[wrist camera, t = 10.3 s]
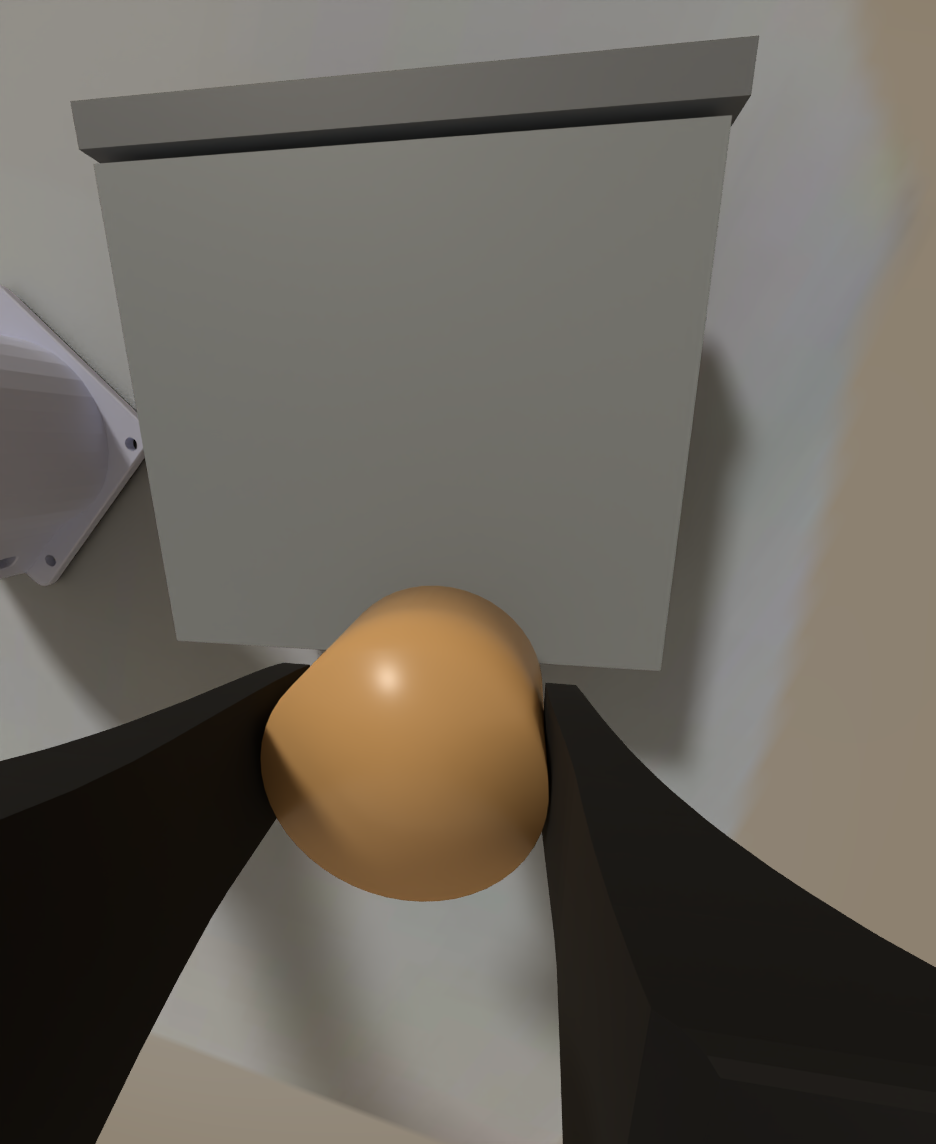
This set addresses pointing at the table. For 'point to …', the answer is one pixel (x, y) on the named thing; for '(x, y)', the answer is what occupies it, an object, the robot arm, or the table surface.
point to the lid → (422, 336)
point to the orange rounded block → (414, 749)
